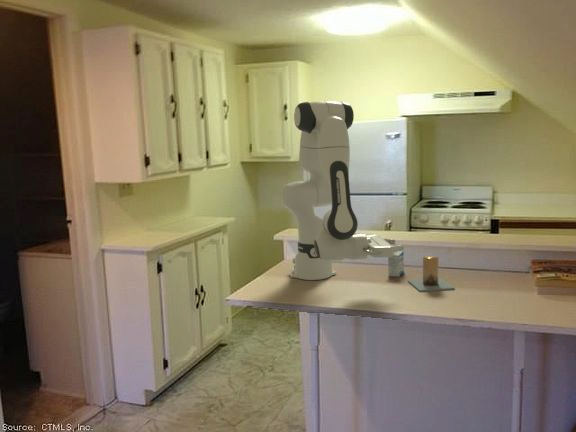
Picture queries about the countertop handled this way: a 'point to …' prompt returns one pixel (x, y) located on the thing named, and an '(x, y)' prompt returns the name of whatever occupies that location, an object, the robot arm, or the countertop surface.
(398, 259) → the medicine box
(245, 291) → the countertop surface
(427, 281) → the tea tin
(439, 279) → the mat
